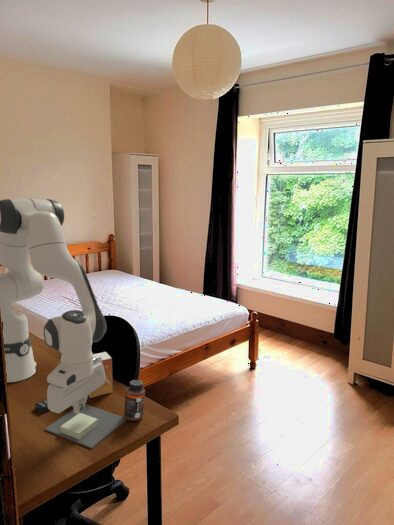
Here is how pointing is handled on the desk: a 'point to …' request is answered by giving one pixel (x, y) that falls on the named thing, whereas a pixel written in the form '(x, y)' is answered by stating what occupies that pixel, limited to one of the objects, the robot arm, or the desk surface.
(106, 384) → the small box
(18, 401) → the desk surface
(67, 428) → the tile
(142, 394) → the supplement bottle
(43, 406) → the multiport hub
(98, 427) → the mat
